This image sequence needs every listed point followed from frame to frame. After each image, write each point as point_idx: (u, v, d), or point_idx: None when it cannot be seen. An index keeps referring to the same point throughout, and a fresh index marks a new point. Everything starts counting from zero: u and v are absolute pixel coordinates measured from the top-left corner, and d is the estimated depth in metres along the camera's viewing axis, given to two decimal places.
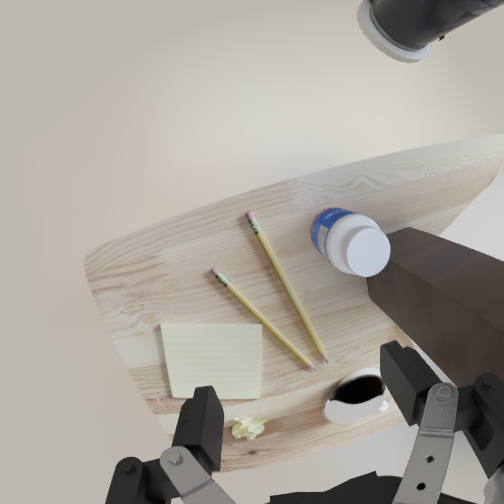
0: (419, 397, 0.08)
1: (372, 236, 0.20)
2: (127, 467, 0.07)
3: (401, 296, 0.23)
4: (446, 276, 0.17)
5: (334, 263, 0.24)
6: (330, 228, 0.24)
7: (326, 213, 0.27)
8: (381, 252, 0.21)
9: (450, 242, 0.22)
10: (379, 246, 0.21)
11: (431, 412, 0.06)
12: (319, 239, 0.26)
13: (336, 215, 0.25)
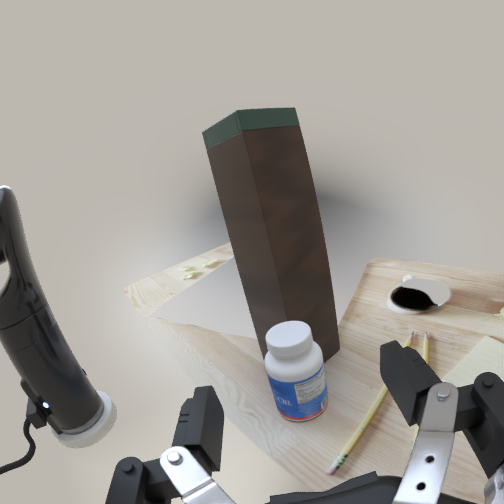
0: (419, 397, 0.08)
1: (273, 337, 0.23)
2: (127, 467, 0.07)
3: (309, 306, 0.29)
4: (266, 272, 0.27)
5: (318, 359, 0.23)
6: (292, 382, 0.22)
7: (286, 409, 0.23)
8: (282, 327, 0.24)
9: (249, 305, 0.33)
10: (278, 330, 0.24)
11: (431, 412, 0.06)
12: (311, 394, 0.22)
13: (279, 391, 0.23)
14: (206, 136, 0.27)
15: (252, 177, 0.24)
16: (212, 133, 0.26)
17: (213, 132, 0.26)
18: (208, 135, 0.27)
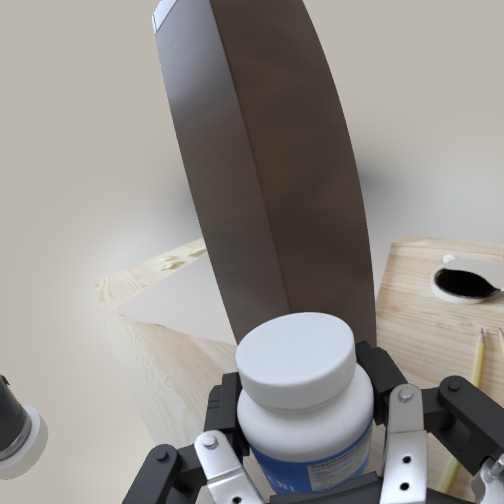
0: (383, 397, 0.08)
1: (254, 356, 0.09)
2: (161, 454, 0.07)
3: (333, 285, 0.14)
4: (243, 209, 0.13)
5: (368, 406, 0.08)
6: (302, 462, 0.07)
7: None
8: (278, 329, 0.10)
9: (220, 289, 0.18)
10: (269, 337, 0.09)
11: (391, 412, 0.07)
12: (343, 474, 0.08)
13: (272, 471, 0.08)
14: (155, 17, 0.13)
15: (212, 24, 0.09)
16: (162, 6, 0.12)
17: (163, 4, 0.12)
18: (158, 14, 0.13)
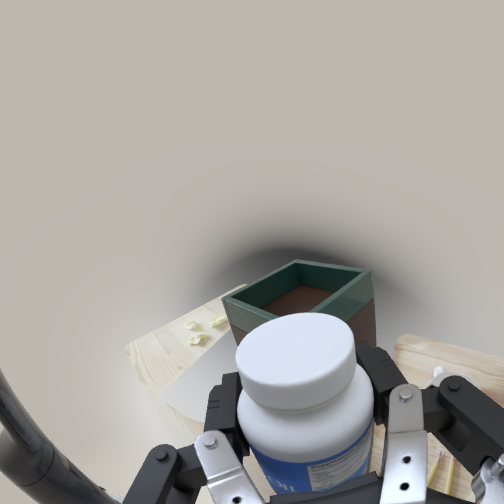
0: (383, 397, 0.08)
1: (254, 356, 0.09)
2: (161, 454, 0.07)
3: None
4: None
5: (368, 406, 0.08)
6: (302, 463, 0.07)
7: None
8: (278, 330, 0.10)
9: None
10: (269, 337, 0.09)
11: (391, 412, 0.07)
12: (343, 474, 0.08)
13: (272, 471, 0.08)
14: (229, 310, 0.18)
15: None
16: (240, 316, 0.17)
17: (242, 316, 0.17)
18: (233, 312, 0.18)
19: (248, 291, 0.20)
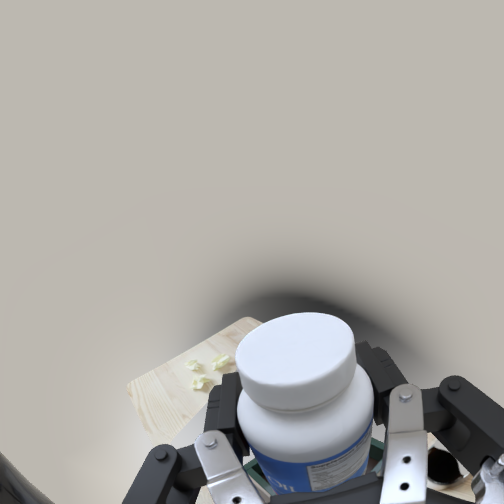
0: (383, 397, 0.08)
1: (254, 356, 0.09)
2: (161, 454, 0.07)
3: None
4: None
5: (368, 406, 0.08)
6: (302, 463, 0.07)
7: None
8: (278, 330, 0.10)
9: None
10: (269, 337, 0.09)
11: (391, 412, 0.07)
12: (343, 474, 0.08)
13: (272, 471, 0.08)
14: (250, 477, 0.14)
15: None
16: (263, 490, 0.13)
17: (265, 491, 0.13)
18: (254, 482, 0.14)
19: None
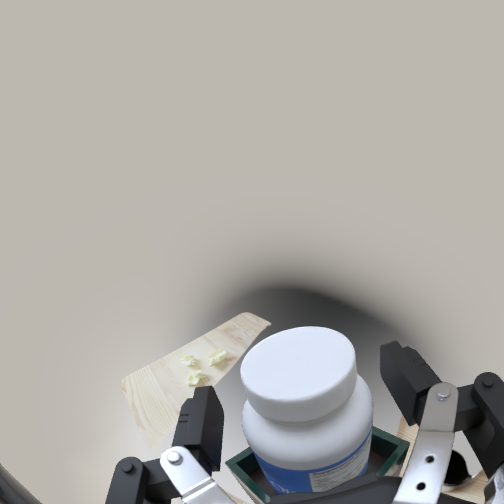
0: (419, 397, 0.08)
1: (259, 371, 0.09)
2: (127, 467, 0.07)
3: None
4: None
5: (368, 417, 0.08)
6: (304, 470, 0.07)
7: None
8: (282, 344, 0.10)
9: None
10: (273, 352, 0.10)
11: (431, 412, 0.06)
12: (343, 480, 0.08)
13: (275, 477, 0.09)
14: (235, 475, 0.12)
15: None
16: (249, 490, 0.11)
17: (251, 492, 0.11)
18: (239, 480, 0.11)
19: None
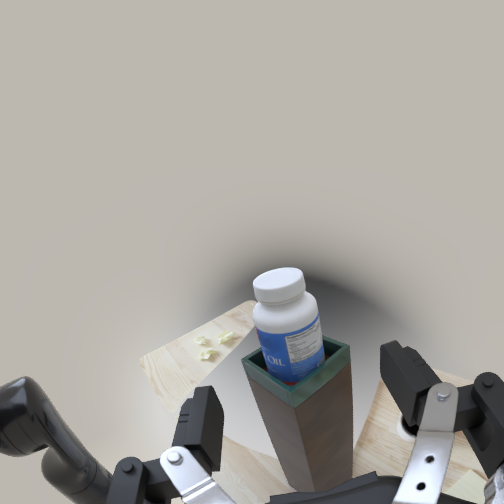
0: (419, 397, 0.08)
1: (261, 282, 0.22)
2: (127, 467, 0.07)
3: (332, 474, 0.26)
4: (300, 467, 0.25)
5: (312, 308, 0.21)
6: (282, 333, 0.20)
7: (278, 371, 0.22)
8: (271, 274, 0.23)
9: (281, 464, 0.30)
10: (267, 276, 0.22)
11: (431, 412, 0.06)
12: (305, 351, 0.21)
13: (269, 347, 0.21)
14: (246, 368, 0.25)
15: (299, 434, 0.21)
16: (255, 374, 0.24)
17: (256, 375, 0.23)
18: (249, 370, 0.24)
19: (260, 353, 0.26)
